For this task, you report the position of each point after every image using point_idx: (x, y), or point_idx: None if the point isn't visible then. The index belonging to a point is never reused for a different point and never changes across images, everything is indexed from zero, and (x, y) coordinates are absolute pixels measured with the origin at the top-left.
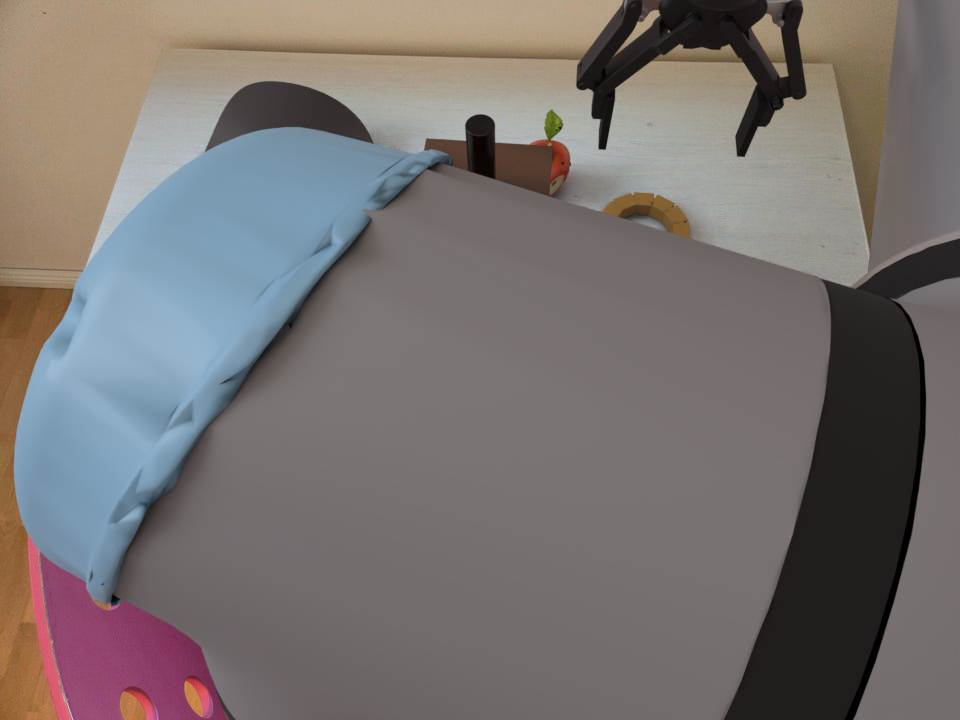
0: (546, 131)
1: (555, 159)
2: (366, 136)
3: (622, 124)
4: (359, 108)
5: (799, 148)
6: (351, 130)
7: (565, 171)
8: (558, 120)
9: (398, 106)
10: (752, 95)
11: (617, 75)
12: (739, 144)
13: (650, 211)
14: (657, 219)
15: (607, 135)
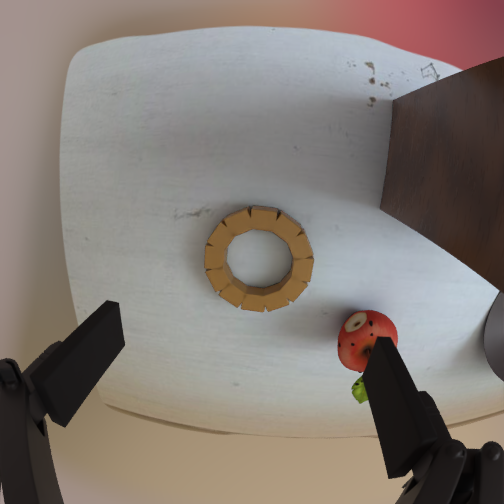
0: None
1: (360, 348)
2: (490, 360)
3: (262, 387)
4: (469, 386)
5: None
6: (498, 363)
7: (347, 335)
8: (357, 392)
9: (445, 392)
10: (75, 408)
11: (442, 501)
12: (111, 323)
13: (246, 288)
14: (238, 280)
15: (390, 360)
